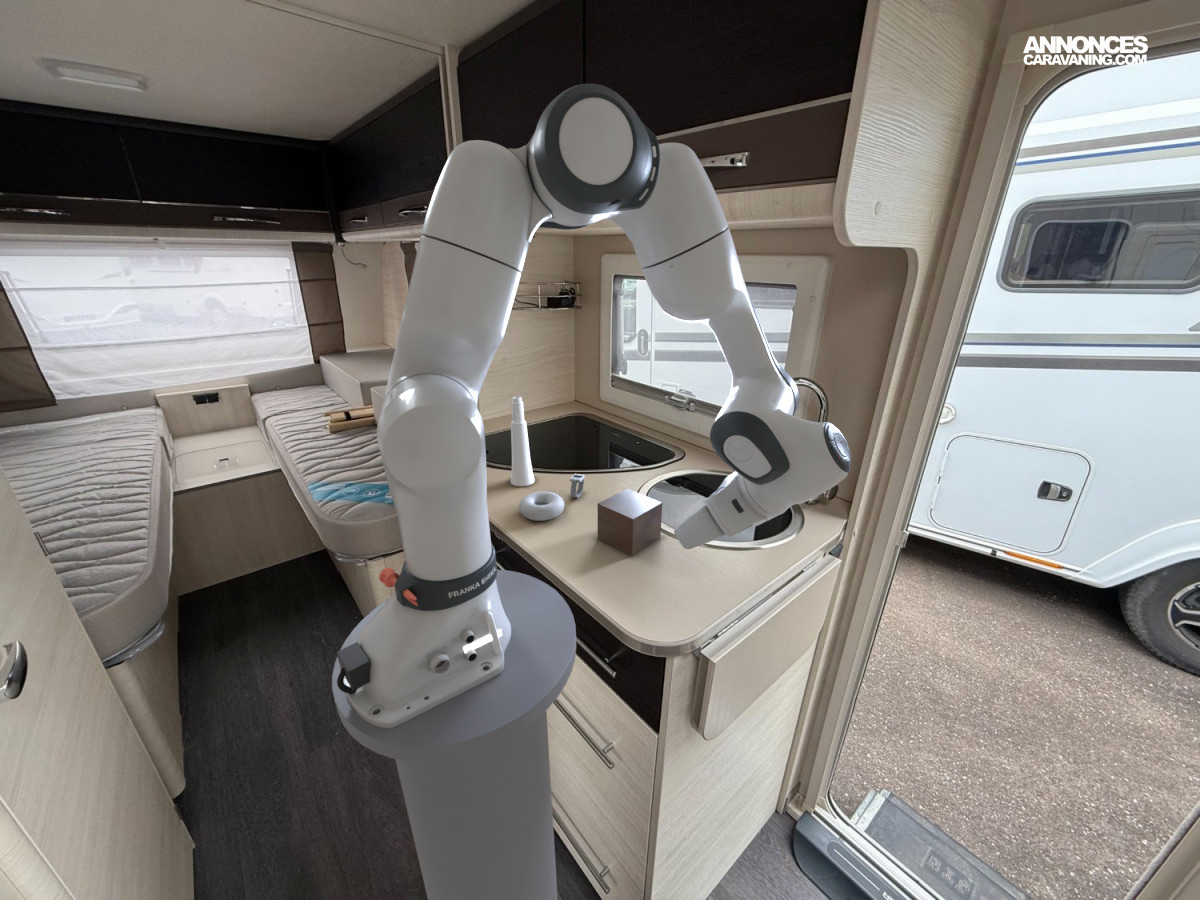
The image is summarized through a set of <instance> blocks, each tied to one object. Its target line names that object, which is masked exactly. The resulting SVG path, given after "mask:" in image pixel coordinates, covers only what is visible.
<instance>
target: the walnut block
mask: <svg viewBox="0 0 1200 900" xmlns="http://www.w3.org/2000/svg"><path fill="white" fill-rule="evenodd" d="M662 516H663V502H662V501H659V500H658V499H655V498H652V497H649V496H647V495H645V494H642V493H640V492H637V491H634V490H632V489H629V488H626V489H624V490H622V491H620V492H618V493H616V494H613V495H611V496H609V497H608V498H606V499H604V500H602V501H600V502H598V503H597V540H599V541H600V542H603V543H605V544H607V545H609V546H611V547H612V548H615V549H617V550H619V551H621V552H622V553H624V554H626V555H628V556H630V557H634V556H635V555H637V554H638V553H639V552H641V551H642V550H645V549H646V548H648V547H649V546H650V545H652V544H653V543H655V542H656V541H658V540H660V539H661V535H662Z"/></svg>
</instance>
